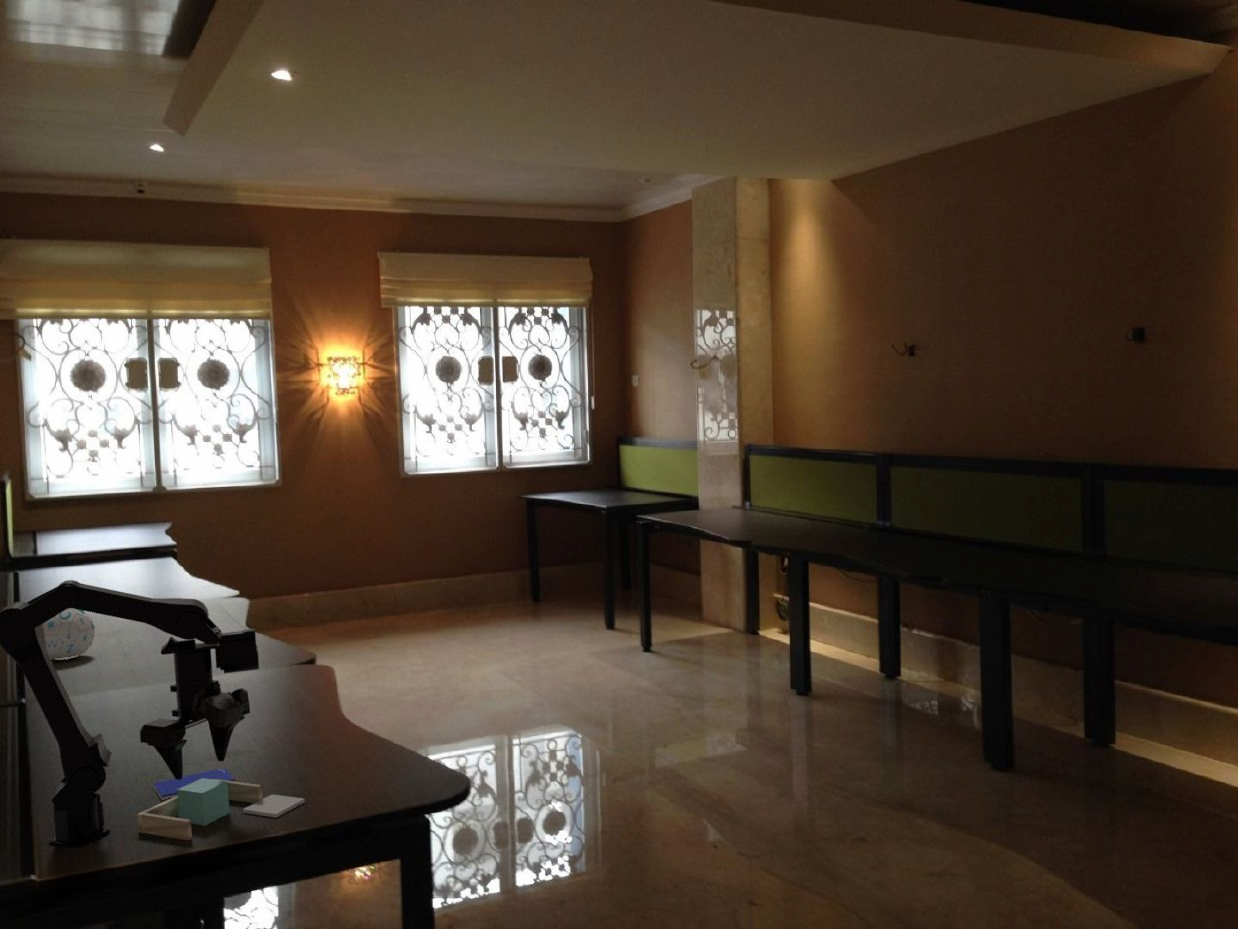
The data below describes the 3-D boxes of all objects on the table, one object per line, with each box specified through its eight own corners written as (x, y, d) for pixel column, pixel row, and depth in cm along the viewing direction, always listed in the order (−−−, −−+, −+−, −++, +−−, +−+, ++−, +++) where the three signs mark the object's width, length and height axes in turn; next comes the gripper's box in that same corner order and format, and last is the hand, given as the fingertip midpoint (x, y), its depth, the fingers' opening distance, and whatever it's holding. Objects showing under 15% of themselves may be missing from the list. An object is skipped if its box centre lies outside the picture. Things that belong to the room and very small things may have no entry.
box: (188, 840, 171) (186, 821, 171) (138, 832, 175) (137, 814, 175) (262, 802, 186) (261, 785, 186) (215, 795, 191) (214, 778, 190)
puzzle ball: (42, 657, 309) (38, 604, 308) (100, 650, 314) (96, 599, 313) (31, 669, 295) (26, 614, 294) (92, 662, 299) (87, 608, 298)
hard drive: (224, 766, 203) (153, 782, 196) (234, 778, 196) (161, 795, 189) (225, 775, 203) (153, 790, 196) (235, 787, 196) (161, 803, 189)
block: (204, 826, 177) (202, 793, 177) (179, 822, 179) (177, 789, 179) (229, 813, 182) (227, 781, 182) (204, 810, 184) (202, 778, 184)
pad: (276, 817, 179) (275, 814, 179) (243, 812, 182) (243, 809, 182) (304, 802, 185) (304, 798, 185) (272, 797, 188) (272, 794, 188)
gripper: (187, 696, 167) (194, 795, 168) (271, 666, 184) (277, 756, 185) (134, 690, 172) (141, 787, 173) (221, 662, 189) (227, 750, 190)
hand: (200, 770), depth 180 cm, fingers open, 9 cm apart
